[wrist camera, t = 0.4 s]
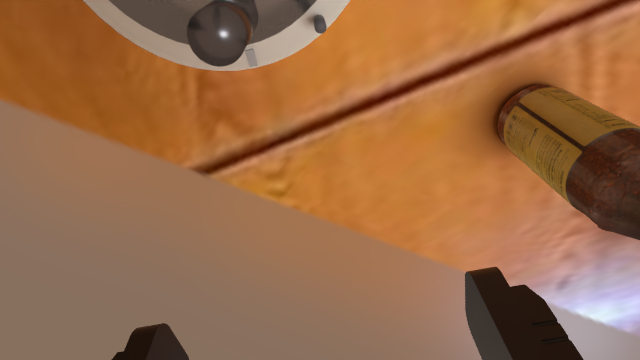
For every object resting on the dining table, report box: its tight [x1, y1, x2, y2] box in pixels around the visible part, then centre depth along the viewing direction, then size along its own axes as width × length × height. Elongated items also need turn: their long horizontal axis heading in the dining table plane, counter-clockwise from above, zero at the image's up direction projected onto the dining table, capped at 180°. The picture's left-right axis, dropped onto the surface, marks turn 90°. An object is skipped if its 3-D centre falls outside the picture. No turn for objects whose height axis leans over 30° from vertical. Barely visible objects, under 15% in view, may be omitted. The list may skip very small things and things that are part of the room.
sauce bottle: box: [497, 85, 640, 240], centre depth 26 cm, size 7×6×20 cm
